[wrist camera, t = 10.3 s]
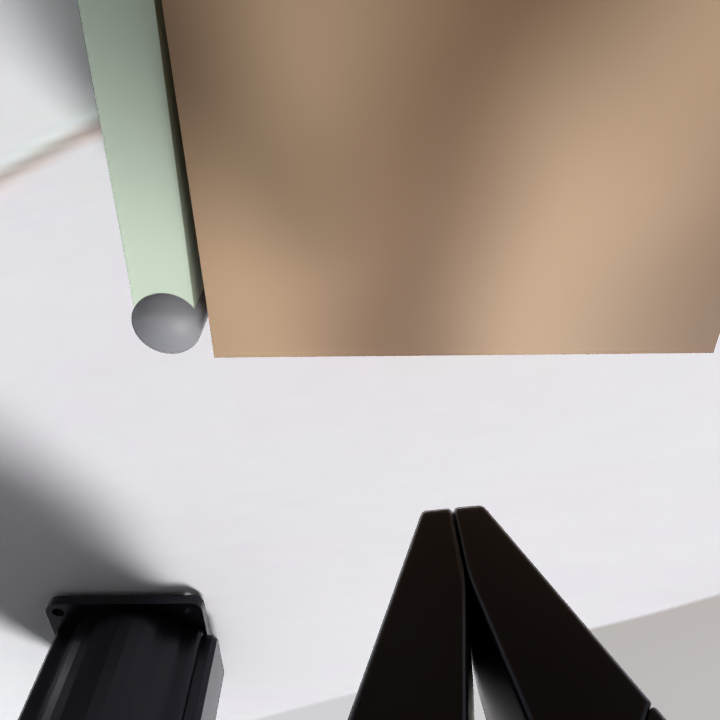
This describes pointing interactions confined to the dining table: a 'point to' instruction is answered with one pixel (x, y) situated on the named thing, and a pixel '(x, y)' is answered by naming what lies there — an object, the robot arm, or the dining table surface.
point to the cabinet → (453, 174)
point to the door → (147, 168)
